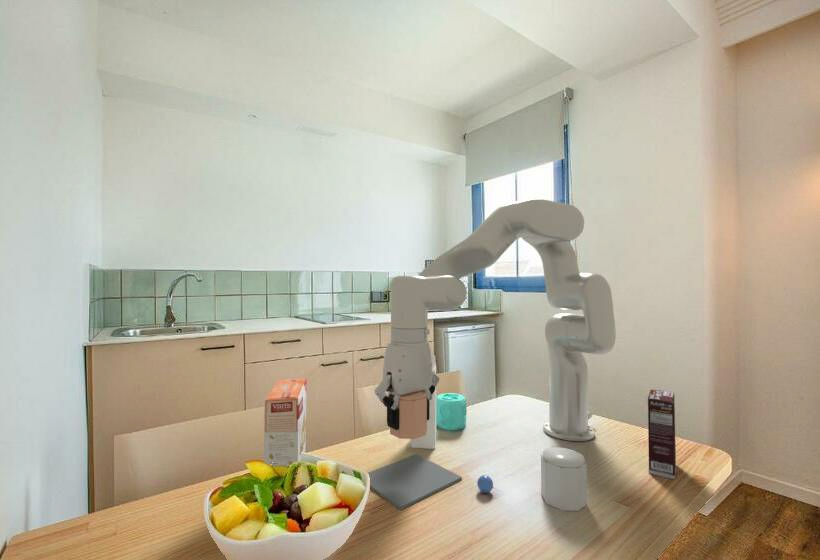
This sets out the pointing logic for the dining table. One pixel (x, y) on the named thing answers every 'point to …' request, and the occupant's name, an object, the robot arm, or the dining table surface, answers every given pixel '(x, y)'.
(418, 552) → the dining table surface
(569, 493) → the white lidded canister
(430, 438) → the milk
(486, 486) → the marble
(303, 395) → the cracker box
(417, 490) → the rubber mat
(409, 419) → the peach cylinder canister
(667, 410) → the supplement box
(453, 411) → the turquoise embossed cylinder
